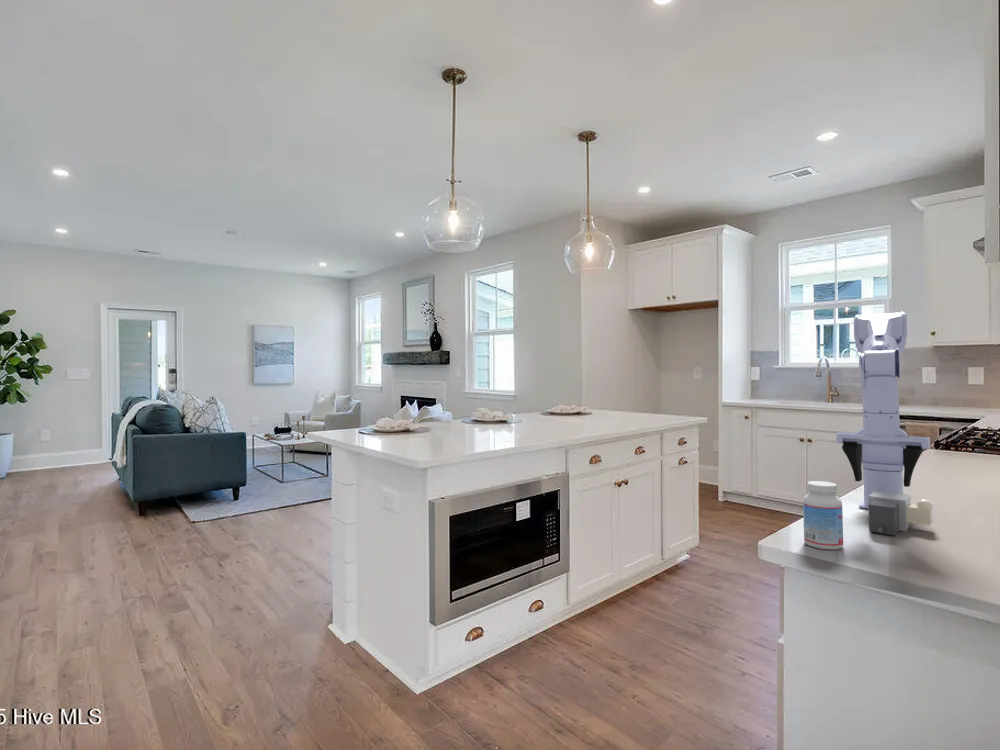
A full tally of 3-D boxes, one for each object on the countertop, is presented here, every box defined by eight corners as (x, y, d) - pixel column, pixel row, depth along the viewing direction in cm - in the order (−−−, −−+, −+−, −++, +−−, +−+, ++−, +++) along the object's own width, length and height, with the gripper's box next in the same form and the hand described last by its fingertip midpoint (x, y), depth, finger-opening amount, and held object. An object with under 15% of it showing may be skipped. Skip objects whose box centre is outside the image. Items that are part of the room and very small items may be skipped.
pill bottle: (849, 551, 93) (848, 487, 93) (811, 550, 94) (809, 486, 94) (834, 540, 99) (833, 480, 99) (799, 539, 100) (797, 479, 100)
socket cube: (875, 519, 112) (874, 490, 112) (910, 524, 107) (910, 494, 107) (868, 525, 107) (868, 495, 107) (906, 531, 103) (905, 500, 103)
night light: (909, 518, 106) (909, 496, 106) (933, 522, 104) (933, 499, 104) (907, 522, 104) (906, 499, 104) (931, 525, 101) (931, 502, 101)
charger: (876, 522, 108) (876, 497, 108) (901, 526, 105) (900, 500, 105) (867, 533, 102) (866, 505, 102) (893, 537, 99) (892, 509, 99)
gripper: (831, 412, 105) (833, 481, 105) (925, 415, 94) (927, 492, 94) (841, 410, 110) (842, 476, 110) (931, 412, 99) (932, 485, 99)
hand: (882, 483), depth 102 cm, fingers open, 7 cm apart
